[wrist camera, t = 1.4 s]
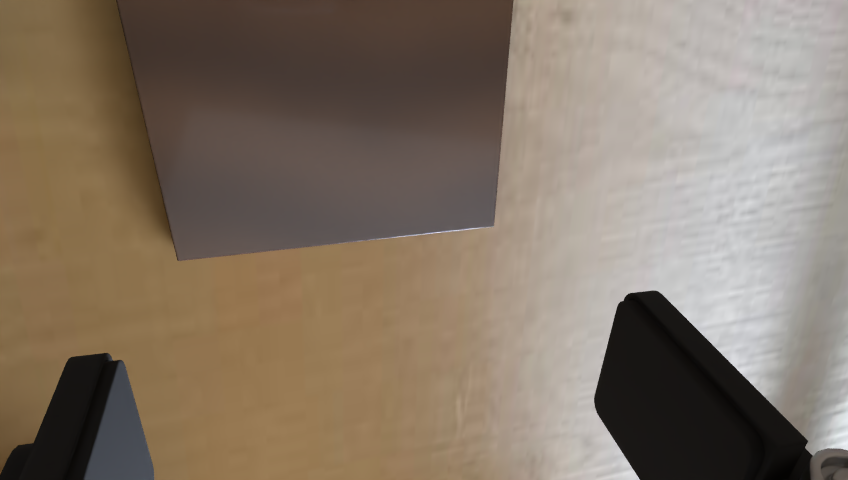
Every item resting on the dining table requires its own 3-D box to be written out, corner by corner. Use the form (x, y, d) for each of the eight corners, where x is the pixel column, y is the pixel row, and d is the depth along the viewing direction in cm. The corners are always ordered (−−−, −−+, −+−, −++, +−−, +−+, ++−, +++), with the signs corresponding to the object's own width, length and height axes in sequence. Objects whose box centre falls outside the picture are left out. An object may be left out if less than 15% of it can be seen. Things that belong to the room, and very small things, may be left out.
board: (77, -192, 24) (69, -196, 23) (519, -174, 28) (529, -176, 27) (179, 250, 35) (177, 261, 34) (488, 218, 39) (494, 227, 38)
